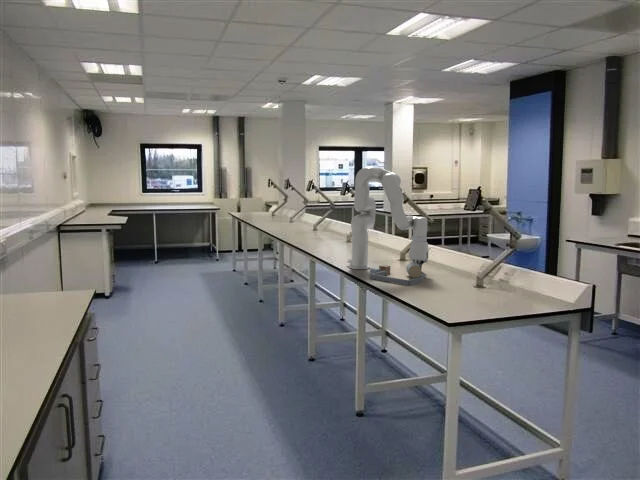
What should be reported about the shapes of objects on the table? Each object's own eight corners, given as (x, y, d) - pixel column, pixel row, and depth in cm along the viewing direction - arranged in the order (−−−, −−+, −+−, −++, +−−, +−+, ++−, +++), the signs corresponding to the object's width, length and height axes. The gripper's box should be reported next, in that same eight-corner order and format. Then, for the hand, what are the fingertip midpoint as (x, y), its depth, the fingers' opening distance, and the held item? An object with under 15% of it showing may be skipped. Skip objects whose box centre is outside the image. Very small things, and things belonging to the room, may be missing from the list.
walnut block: (378, 273, 288) (379, 265, 288) (383, 272, 292) (383, 264, 291) (385, 274, 285) (385, 266, 285) (390, 273, 289) (390, 265, 288)
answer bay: (369, 278, 274) (369, 273, 273) (384, 275, 284) (384, 270, 283) (408, 285, 257) (408, 280, 257) (422, 281, 267) (423, 277, 267)
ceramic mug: (408, 278, 276) (408, 264, 275) (405, 275, 284) (406, 261, 283) (427, 279, 276) (428, 265, 275) (425, 276, 284) (425, 262, 283)
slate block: (369, 275, 282) (370, 268, 281) (374, 274, 285) (374, 267, 284) (375, 276, 279) (375, 269, 279) (380, 275, 282) (380, 268, 281)
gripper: (404, 238, 286) (403, 270, 289) (428, 241, 276) (426, 274, 279) (411, 237, 292) (410, 269, 294) (435, 239, 282) (433, 272, 284)
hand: (418, 271), depth 286 cm, fingers closed
